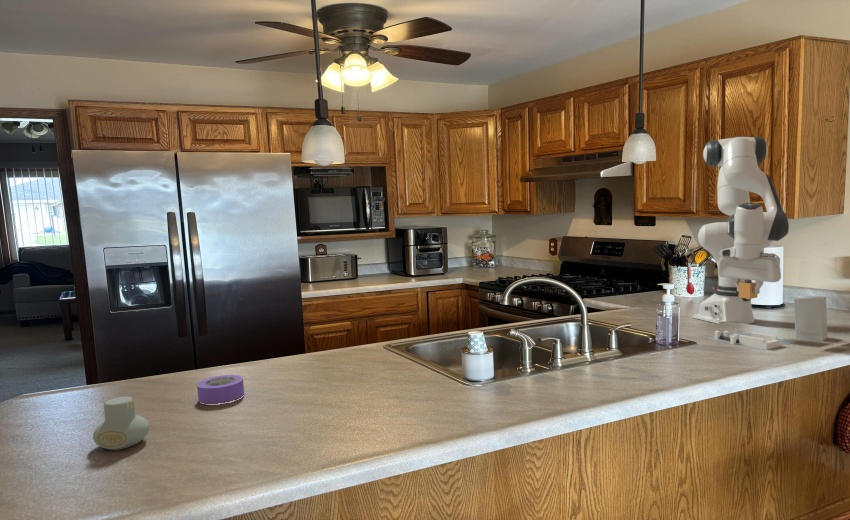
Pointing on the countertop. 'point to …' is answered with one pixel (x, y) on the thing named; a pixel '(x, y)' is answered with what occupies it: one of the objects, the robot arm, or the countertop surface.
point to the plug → (747, 289)
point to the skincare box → (810, 317)
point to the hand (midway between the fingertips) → (748, 292)
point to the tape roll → (220, 389)
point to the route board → (750, 340)
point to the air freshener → (120, 425)
